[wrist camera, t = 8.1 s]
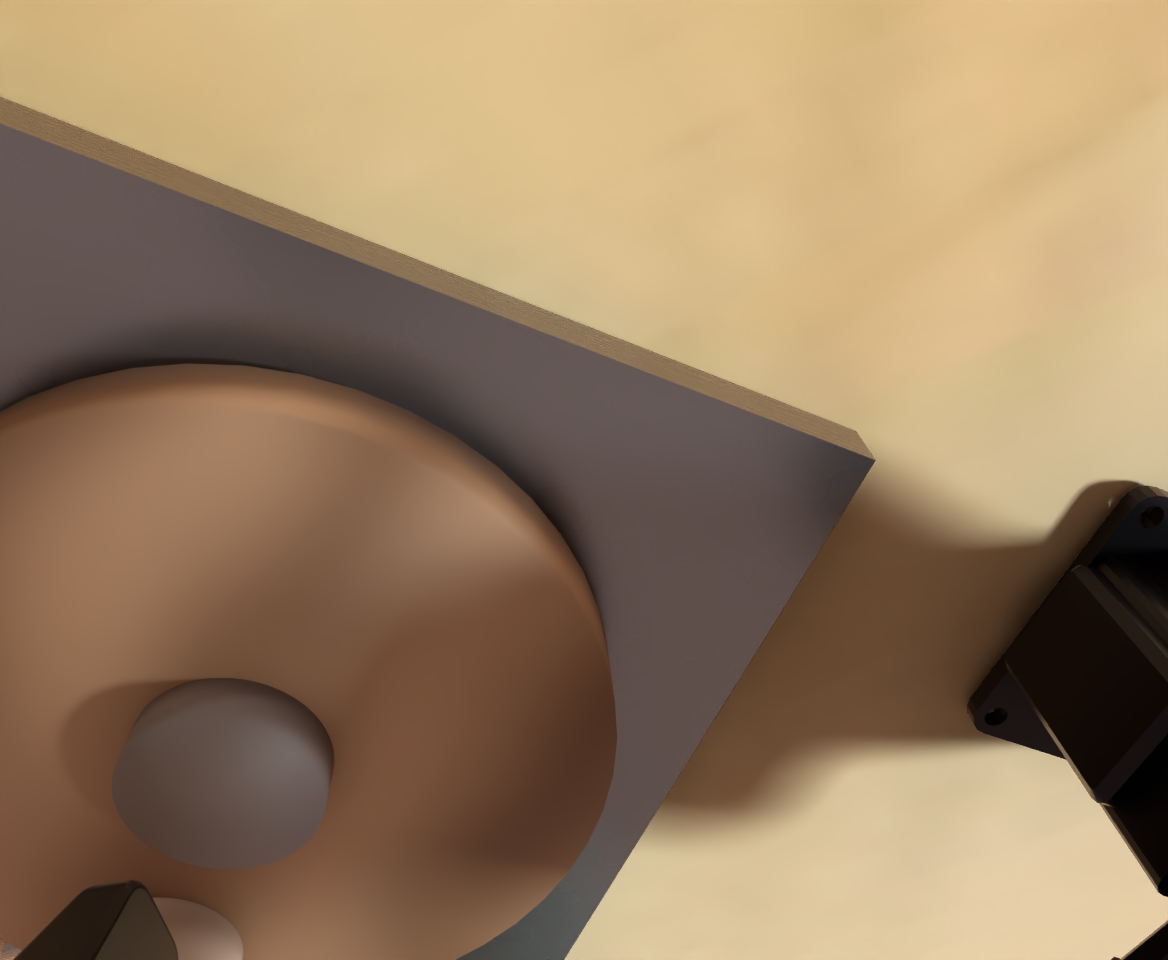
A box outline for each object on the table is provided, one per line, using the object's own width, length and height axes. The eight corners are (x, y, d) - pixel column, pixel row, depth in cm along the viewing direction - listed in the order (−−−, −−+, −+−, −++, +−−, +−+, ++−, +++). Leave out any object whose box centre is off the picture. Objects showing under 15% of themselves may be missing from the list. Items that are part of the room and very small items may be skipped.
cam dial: (729, 515, 19) (849, 840, 12) (471, 988, 25) (457, 1380, 18) (-109, 232, 16) (-564, 469, 9) (-179, 856, 22) (-485, 1277, 15)
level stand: (856, 431, 20) (953, 576, 16) (511, 1000, 28) (513, 1205, 23) (-162, 33, 16) (-420, 81, 11) (-242, 838, 23) (-416, 1054, 19)
